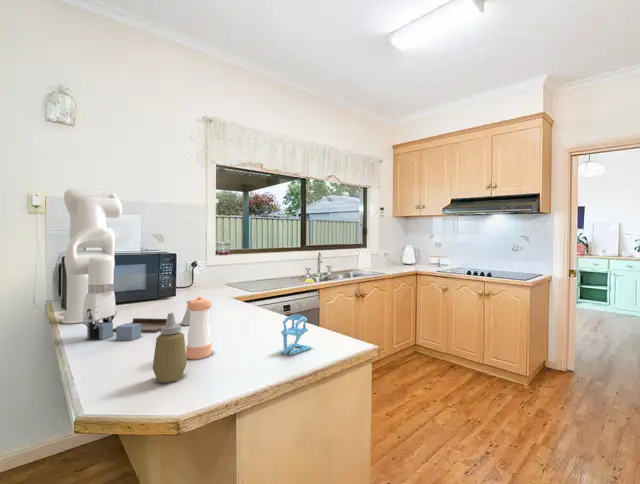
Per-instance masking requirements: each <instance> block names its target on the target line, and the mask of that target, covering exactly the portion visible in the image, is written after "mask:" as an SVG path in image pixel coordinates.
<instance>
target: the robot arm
mask: <svg viewBox="0 0 640 484" xmlns="http://www.w3.org/2000/svg"><path fill="white" fill-rule="evenodd" d="M63 194H64V195H63V201H64V202H63V203H64V205H65V207H66V209H67V212H68V215H69V243H68V245H67V247H66V254H65V255H64V259H63V260H64V261H63V262H64V267H65V268H64V269H65V273H66V310H63V311H61V312H59V314H58V316H60V317H63V318H62V319H61V323H62V324H67V325H69V324H83V325H85V326H86V327H88V329H89V339H88V340H100V339H99V328H98V323H99V322H100V320H102V322H104V323H113V320H114V319H115V317H116V316H117V314H118V312H117V311H116V310H117V309H116V296H115V295H116V294H115V290H114V283H115V282H114V280H115V279H114V277H115V276H114V272H115V266H116V261H115V253H116V251H115V250H116V249H115V248H116V236H115V235H116V234H115V231H114V229H112V228H111V227H107V220H106V218H108V219H109V218H111V219H117V218H120V217H121V216H122V213H123V205H122V203H121V200H120V198H119V197H118V195H116V193H115V192H113V191H109V190H101V189H99V190H98V189H87V188H69V189H66V190H65V191H64V193H63ZM77 248H81V249H83V248H84V249H85V248H86V249H87V250H77ZM88 248H91V250H90V249H89V250H88ZM92 248H93V250H92ZM94 248H95V250H94ZM96 248H98V249H96ZM99 248H100V249H99Z"/></svg>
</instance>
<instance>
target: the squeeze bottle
mask: <svg viewBox="0 0 640 484" xmlns="http://www.w3.org/2000/svg"><path fill="white" fill-rule="evenodd" d="M166 319H167V321H166V324H165V326H163V327H161V330H160V334H159V335H158V336H157V337H156V339H155V345H154V352H153V354H154V355H153V362H152V371H153V373H154V375H155V379H156V382H157V383H160V384H161V383H163V384H164V383H165V384H166V383H171V382H175V381H178V380H180V379H181V378H182V377H183V375H184V373H185V369H186V367H187V365H188V360H187V359H188V358H187V357H186V341H185V334H184V332H181V324H177V323H176V318H175V315H174V312H169V313H167V317H166Z"/></svg>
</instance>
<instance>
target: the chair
mask: <svg viewBox="0 0 640 484" xmlns="http://www.w3.org/2000/svg"><path fill="white" fill-rule="evenodd" d="M288 321H291V327H288V328H287V324H286V323H287V322H288ZM295 321H296V322H295ZM307 321H308V318H307V317H306V316H304V315H302V314H297V313H296V314H293V315H288V316H286V317H285V318H284V319H283V321H282V325H283V330H281V331H280V335H282V341H283V342H282V343H283V352H282V353H283V355H287V354H288V353H289V356H292V355H296V354H298V353H302V352H305V351H309V350H311V346H310V345H307V344H301V343H299V341H300V338H301V337H302V336H303V335H304V334H305V333H307V332H308V331H309V329H308V328H307V327H306V326H307V325H306V324H307ZM302 322H303V325H302V327H299V325H300V324H301V323H302ZM288 336H294V337H295V340H294V342H293V343H292V342H291V343H290V344H289V345H288ZM296 348H297V349H296Z"/></svg>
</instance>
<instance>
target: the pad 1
mask: <svg viewBox="0 0 640 484" xmlns="http://www.w3.org/2000/svg"><path fill="white" fill-rule="evenodd" d="M86 327H87V326H86ZM98 328H99V339H98V340H104V339H108V338H110V337H112V336H113V335H114V332H113V329H114V322H112V323H104V322H103V321H102V322H101V321H99V323H98ZM86 329H87V330H86V332H87V334H86V339H87V340H90V339H89V329H88V327H87V328H86Z"/></svg>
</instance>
